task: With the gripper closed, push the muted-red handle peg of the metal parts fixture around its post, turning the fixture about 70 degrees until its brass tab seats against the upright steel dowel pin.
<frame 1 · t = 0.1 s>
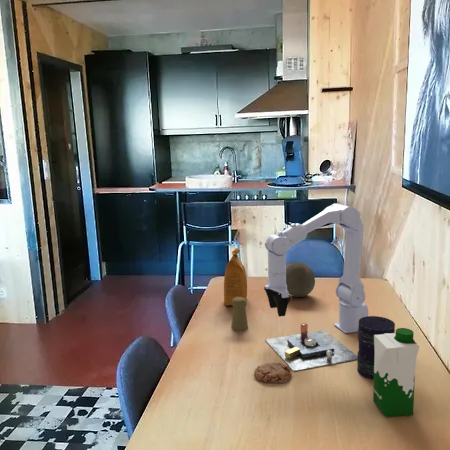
hand: (277, 311, 149), 10 cm above the table, fingers open, 7 cm apart
milk carton: (392, 408, 112), on the table
storage jar: (374, 372, 129), on the table
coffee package: (236, 302, 187), on the table
dowel pin: (329, 360, 136), resting on post base
olive green shaker: (239, 327, 162), on the table
post base: (310, 349, 144), on the table
metal parts fixture: (303, 339, 142), point 4 cm above the table, hinge at 0.0°
cookie: (272, 377, 128), on the table
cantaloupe: (297, 297, 191), on the table
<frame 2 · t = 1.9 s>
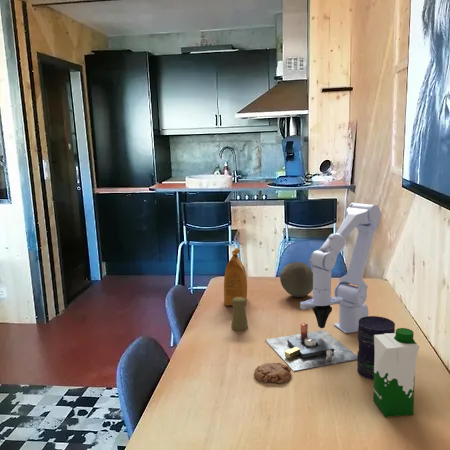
hand: (321, 326, 148), 5 cm above the table, fingers closed
nothing on the table moved.
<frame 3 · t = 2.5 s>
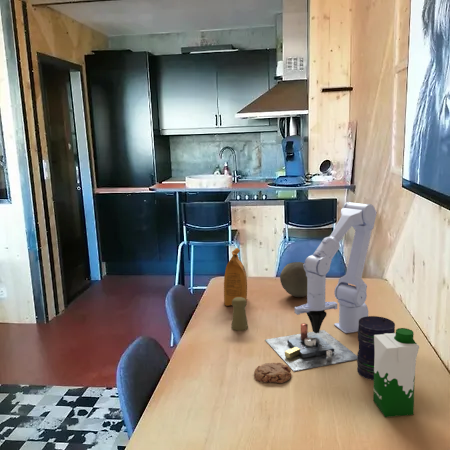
hand: (315, 331, 148), 3 cm above the table, fingers closed
nothing on the table moved.
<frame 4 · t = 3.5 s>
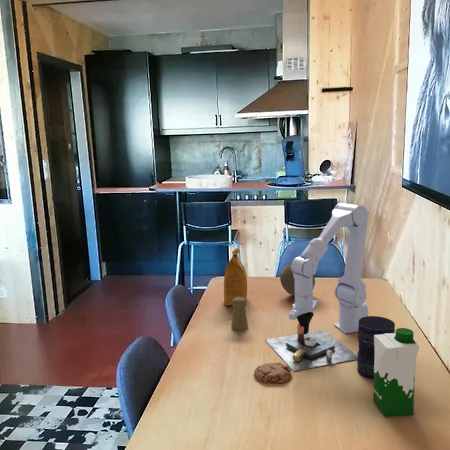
hand: (304, 333, 148), 3 cm above the table, fingers closed, pressing on metal parts fixture
metal parts fixture: (305, 340, 142), point 4 cm above the table, hinge at 17.8°, touching gripper
everything else where it was.
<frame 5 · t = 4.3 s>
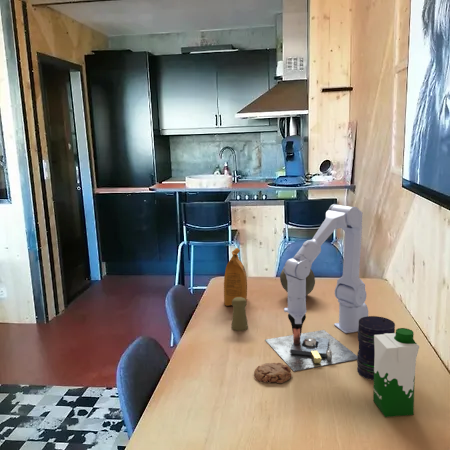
hand: (296, 335, 146), 3 cm above the table, fingers closed, pressing on metal parts fixture
metal parts fixture: (309, 341, 141), point 4 cm above the table, hinge at 54.9°, touching gripper
everything else where it was.
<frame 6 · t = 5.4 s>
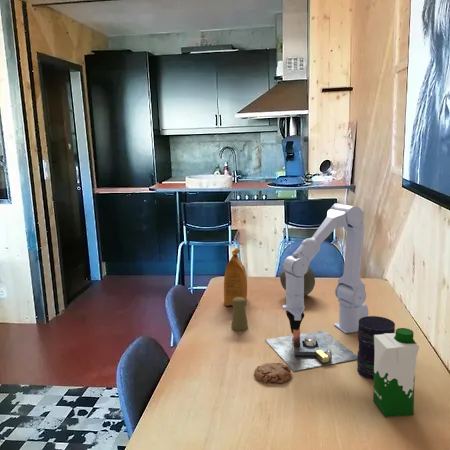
hand: (294, 332, 148), 3 cm above the table, fingers closed
metal parts fixture: (311, 341, 141), point 4 cm above the table, hinge at 68.7°
everything else where it was.
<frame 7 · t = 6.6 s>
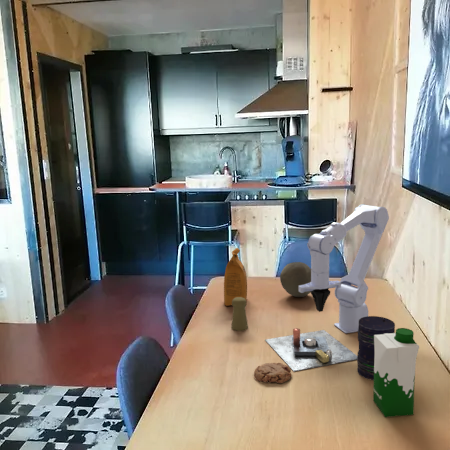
hand: (319, 310, 149), 10 cm above the table, fingers closed
nothing on the table moved.
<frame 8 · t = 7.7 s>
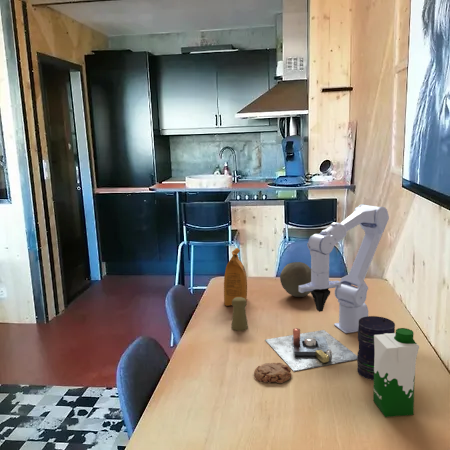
hand: (319, 310, 149), 10 cm above the table, fingers closed
nothing on the table moved.
at the end: metal parts fixture at +69° (first picture: +0°); the gripper is holding nothing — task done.
